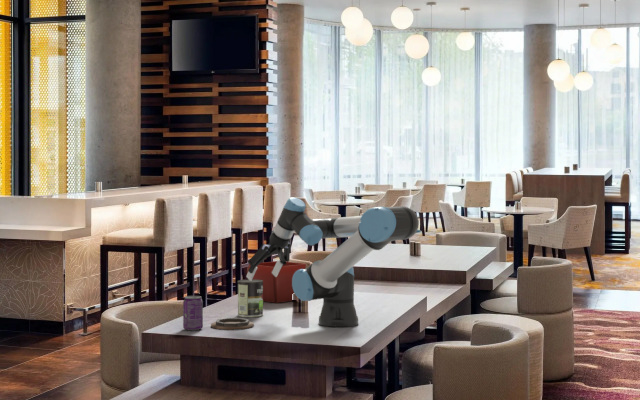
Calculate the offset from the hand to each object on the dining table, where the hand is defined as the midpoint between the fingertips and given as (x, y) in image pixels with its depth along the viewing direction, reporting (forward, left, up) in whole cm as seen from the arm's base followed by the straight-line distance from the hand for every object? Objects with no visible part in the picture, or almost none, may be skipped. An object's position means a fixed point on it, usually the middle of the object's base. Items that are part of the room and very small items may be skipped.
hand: (261, 276), depth 329 cm
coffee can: (+9, -1, -17) cm, 19 cm away
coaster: (-6, +19, -17) cm, 26 cm away
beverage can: (-2, +34, -17) cm, 38 cm away
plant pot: (+33, -35, -17) cm, 51 cm away
